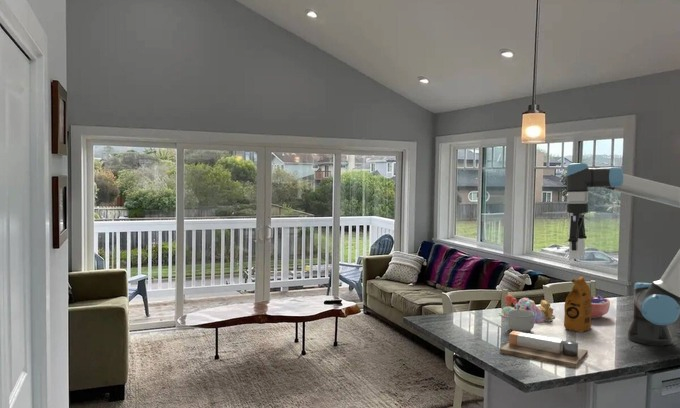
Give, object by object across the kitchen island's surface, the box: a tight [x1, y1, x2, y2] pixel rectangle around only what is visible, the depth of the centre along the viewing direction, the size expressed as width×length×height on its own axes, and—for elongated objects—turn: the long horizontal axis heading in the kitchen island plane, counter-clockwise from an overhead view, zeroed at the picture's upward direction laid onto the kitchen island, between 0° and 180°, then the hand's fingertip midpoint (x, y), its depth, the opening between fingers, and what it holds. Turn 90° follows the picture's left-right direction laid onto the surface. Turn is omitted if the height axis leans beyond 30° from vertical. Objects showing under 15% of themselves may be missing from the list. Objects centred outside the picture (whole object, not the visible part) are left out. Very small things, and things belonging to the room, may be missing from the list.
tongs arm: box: [508, 331, 561, 354], centre depth 188 cm, size 18×2×4 cm, turn 53°
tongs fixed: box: [511, 330, 579, 357], centre depth 188 cm, size 24×5×4 cm, turn 53°
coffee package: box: [563, 275, 592, 333], centre depth 221 cm, size 10×12×22 cm
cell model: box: [591, 295, 611, 319], centre depth 241 cm, size 17×20×11 cm
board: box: [499, 342, 589, 369], centre depth 188 cm, size 26×18×2 cm
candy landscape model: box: [498, 294, 556, 324], centre depth 242 cm, size 25×24×9 cm
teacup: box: [507, 309, 535, 333], centre depth 218 cm, size 14×11×8 cm
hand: (577, 256), depth 201 cm, fingers open, 13 cm apart
